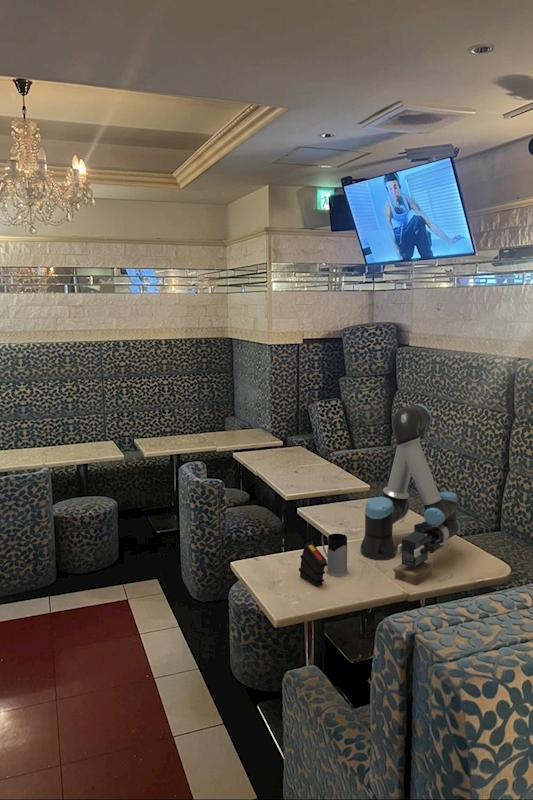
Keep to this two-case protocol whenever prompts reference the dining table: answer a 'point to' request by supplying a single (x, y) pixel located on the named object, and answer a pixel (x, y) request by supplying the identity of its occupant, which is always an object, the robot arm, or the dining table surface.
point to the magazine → (312, 565)
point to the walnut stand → (413, 572)
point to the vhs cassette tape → (421, 527)
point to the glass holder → (336, 555)
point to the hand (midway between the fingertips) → (406, 551)
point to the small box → (410, 545)
